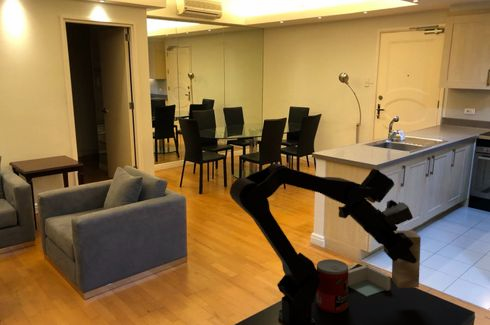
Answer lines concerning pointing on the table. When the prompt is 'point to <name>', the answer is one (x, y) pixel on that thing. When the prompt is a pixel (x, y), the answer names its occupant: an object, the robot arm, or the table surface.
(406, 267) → the maple block
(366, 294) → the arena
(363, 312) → the table surface
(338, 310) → the canned food
